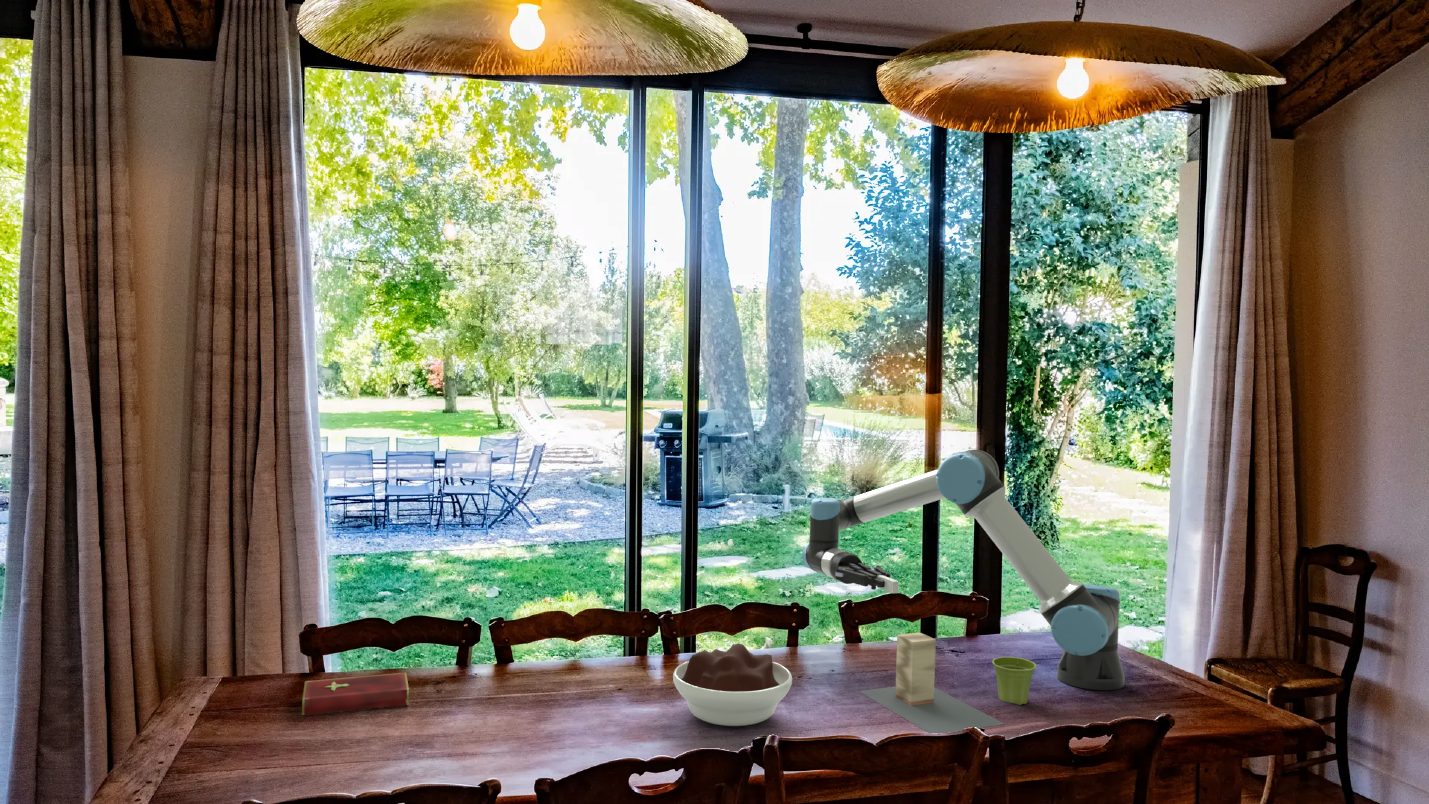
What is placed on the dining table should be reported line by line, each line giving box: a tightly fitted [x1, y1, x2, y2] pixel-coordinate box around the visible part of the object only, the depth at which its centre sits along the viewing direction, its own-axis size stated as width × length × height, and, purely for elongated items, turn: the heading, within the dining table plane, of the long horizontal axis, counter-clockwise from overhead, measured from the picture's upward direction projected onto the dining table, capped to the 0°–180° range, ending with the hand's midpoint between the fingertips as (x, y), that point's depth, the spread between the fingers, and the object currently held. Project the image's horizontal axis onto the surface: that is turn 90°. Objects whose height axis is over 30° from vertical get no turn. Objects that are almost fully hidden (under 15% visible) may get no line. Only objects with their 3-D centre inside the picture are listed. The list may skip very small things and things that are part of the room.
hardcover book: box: [301, 672, 410, 716], centre depth 210 cm, size 12×21×4 cm, turn 110°
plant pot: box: [991, 656, 1037, 706], centre depth 219 cm, size 9×9×9 cm
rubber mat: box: [858, 685, 1005, 734], centre depth 212 cm, size 28×18×1 cm, turn 23°
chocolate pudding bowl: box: [672, 643, 793, 727], centre depth 205 cm, size 25×25×15 cm
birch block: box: [895, 632, 937, 706], centre depth 216 cm, size 6×6×14 cm
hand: (895, 587), depth 224 cm, fingers closed
